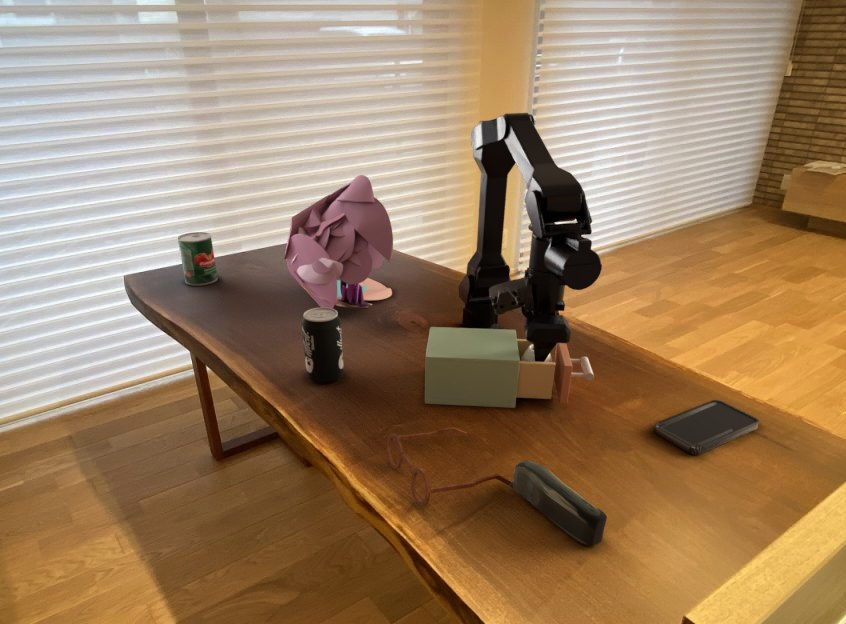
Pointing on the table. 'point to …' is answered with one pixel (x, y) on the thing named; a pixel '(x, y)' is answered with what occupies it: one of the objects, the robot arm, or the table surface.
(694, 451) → the phone
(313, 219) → the flower arrangement
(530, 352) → the white jar
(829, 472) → the table surface
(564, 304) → the robot arm
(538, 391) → the drawer
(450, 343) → the cabinet
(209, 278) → the canned tomato
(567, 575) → the table surface
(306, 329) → the beverage can
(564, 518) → the dark grey long block
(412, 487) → the glasses
